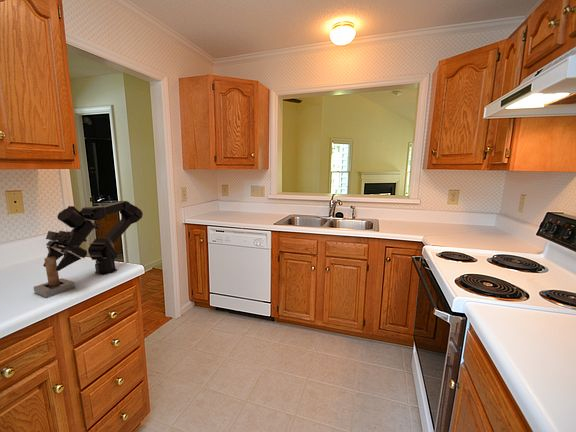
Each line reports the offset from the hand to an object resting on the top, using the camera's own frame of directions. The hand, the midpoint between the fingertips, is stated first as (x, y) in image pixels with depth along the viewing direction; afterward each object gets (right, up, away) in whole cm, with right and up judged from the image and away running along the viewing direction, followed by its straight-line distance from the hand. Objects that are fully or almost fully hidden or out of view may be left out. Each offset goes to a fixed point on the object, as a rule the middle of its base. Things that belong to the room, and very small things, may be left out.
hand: (50, 268), depth 103 cm
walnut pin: (0, -9, +2) cm, 9 cm away
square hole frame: (0, -9, +2) cm, 9 cm away
